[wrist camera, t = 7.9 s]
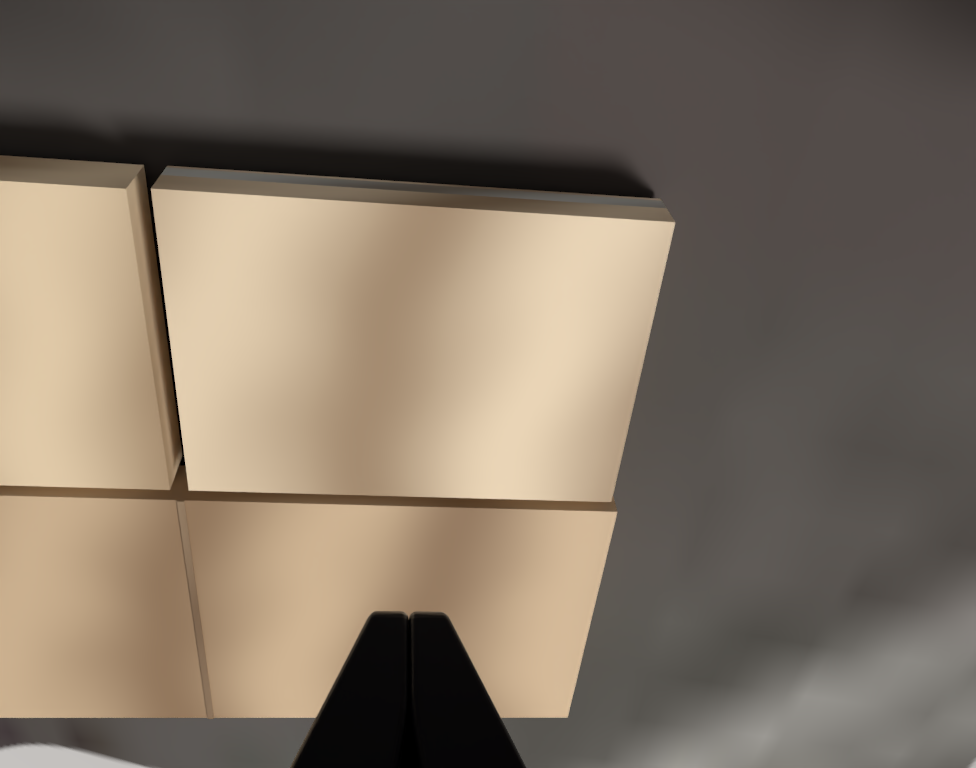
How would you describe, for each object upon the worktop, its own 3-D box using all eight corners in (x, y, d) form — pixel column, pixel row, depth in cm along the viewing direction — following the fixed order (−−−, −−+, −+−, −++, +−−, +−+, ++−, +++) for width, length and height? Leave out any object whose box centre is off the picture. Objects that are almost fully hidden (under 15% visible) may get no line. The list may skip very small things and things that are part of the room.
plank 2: (660, 198, 17) (675, 222, 16) (602, 469, 21) (611, 502, 20) (167, 165, 16) (150, 188, 15) (200, 457, 20) (188, 490, 19)
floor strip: (608, 478, 21) (617, 513, 20) (561, 681, 26) (567, 718, 25) (-271, 451, 19) (-310, 488, 18) (-155, 679, 23) (-181, 719, 22)
